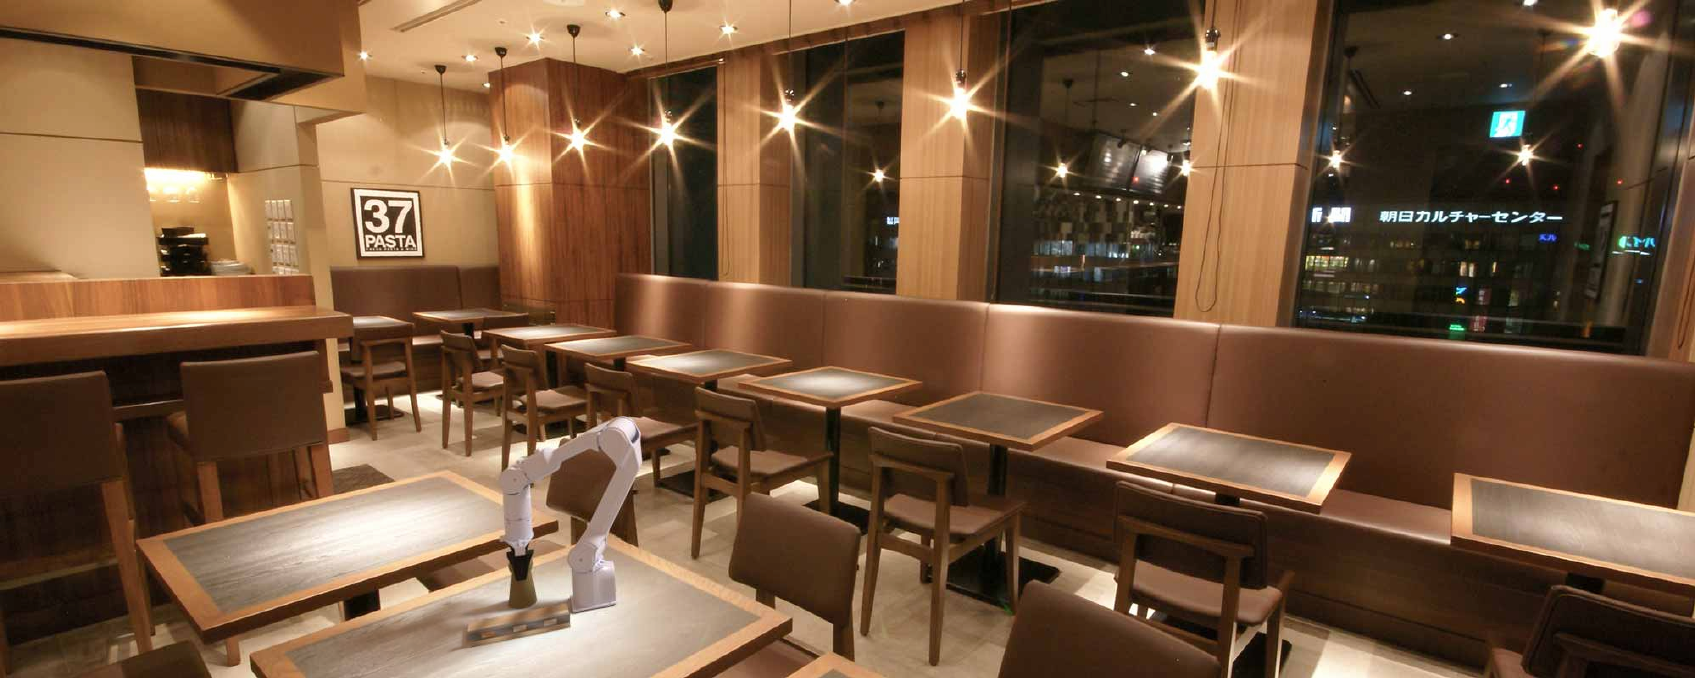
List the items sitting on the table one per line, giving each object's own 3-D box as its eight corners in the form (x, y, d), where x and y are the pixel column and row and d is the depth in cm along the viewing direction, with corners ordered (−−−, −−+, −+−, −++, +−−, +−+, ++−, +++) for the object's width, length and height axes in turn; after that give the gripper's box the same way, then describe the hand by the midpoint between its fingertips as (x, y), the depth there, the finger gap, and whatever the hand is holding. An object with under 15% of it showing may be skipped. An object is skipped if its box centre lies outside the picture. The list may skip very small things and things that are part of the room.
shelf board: (567, 607, 169) (566, 595, 169) (570, 626, 161) (570, 614, 161) (468, 626, 161) (467, 613, 160) (467, 648, 153) (466, 634, 152)
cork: (526, 610, 168) (524, 564, 166) (502, 607, 169) (500, 561, 167) (542, 597, 174) (540, 553, 172) (519, 594, 175) (516, 550, 173)
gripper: (498, 507, 173) (501, 562, 175) (498, 531, 160) (502, 590, 162) (531, 503, 176) (533, 557, 178) (534, 525, 163) (536, 584, 165)
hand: (520, 572), depth 170 cm, fingers open, 7 cm apart
